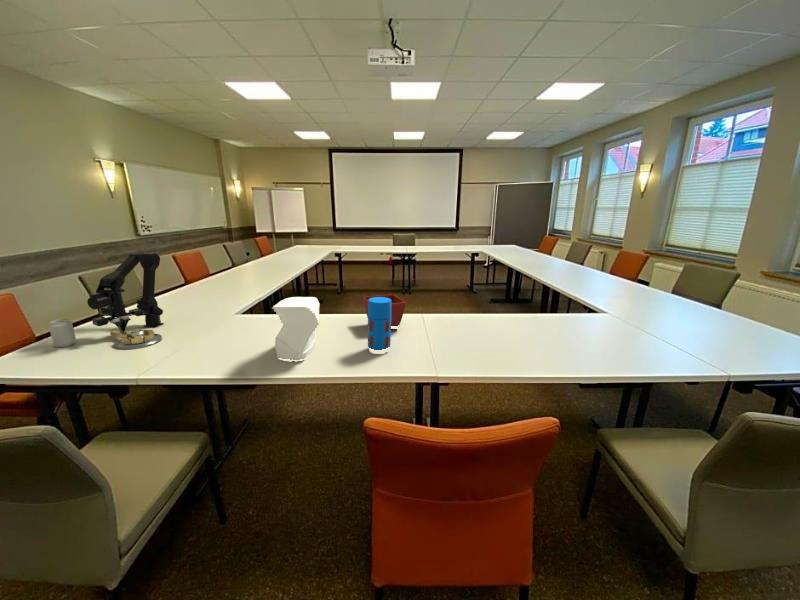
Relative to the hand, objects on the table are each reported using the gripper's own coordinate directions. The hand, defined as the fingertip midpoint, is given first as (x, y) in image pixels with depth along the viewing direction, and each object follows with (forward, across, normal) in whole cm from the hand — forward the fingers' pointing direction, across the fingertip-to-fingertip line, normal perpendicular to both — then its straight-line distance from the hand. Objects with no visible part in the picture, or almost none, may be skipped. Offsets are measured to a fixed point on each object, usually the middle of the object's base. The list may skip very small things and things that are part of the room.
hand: (123, 333), depth 162 cm
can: (+2, +18, -12) cm, 22 cm away
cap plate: (+3, -1, +12) cm, 12 cm away
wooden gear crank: (+1, 0, +7) cm, 8 cm away
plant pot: (+6, -82, +100) cm, 129 cm away
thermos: (+5, -54, +114) cm, 126 cm away
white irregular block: (+4, -32, +86) cm, 92 cm away
